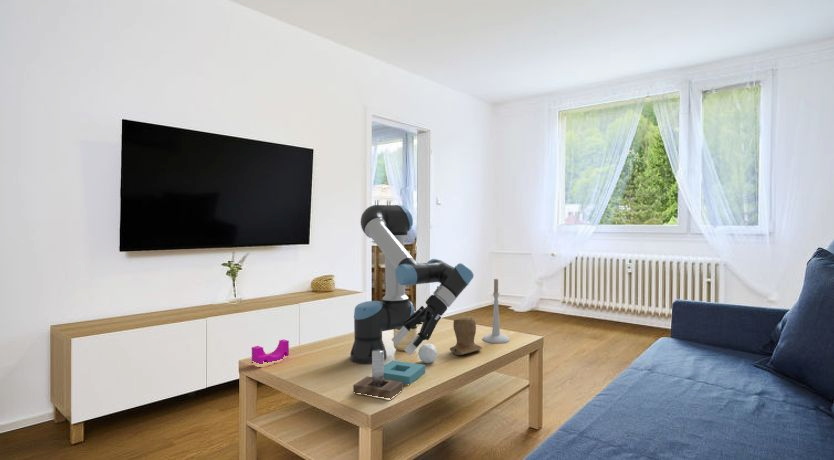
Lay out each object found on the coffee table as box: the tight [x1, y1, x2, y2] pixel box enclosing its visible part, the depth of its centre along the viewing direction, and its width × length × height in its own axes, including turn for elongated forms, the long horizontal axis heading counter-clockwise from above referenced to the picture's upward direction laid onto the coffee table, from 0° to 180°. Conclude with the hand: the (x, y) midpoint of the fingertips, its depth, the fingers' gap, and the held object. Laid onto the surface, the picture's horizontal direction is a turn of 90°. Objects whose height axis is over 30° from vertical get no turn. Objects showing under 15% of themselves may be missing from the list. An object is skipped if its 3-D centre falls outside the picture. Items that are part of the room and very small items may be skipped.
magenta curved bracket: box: [251, 339, 290, 364], centre depth 184 cm, size 15×6×8 cm, turn 142°
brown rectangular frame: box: [352, 375, 404, 399], centre depth 152 cm, size 14×9×3 cm, turn 66°
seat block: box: [384, 360, 426, 386], centre depth 167 cm, size 14×14×3 cm
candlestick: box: [482, 278, 510, 344], centre depth 217 cm, size 13×13×30 cm
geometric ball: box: [417, 343, 438, 364], centre depth 183 cm, size 8×8×8 cm
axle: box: [371, 349, 385, 387], centre depth 151 cm, size 4×4×14 cm
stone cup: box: [449, 317, 483, 356], centre depth 198 cm, size 15×12×15 cm
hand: (400, 347), depth 154 cm, fingers open, 13 cm apart
